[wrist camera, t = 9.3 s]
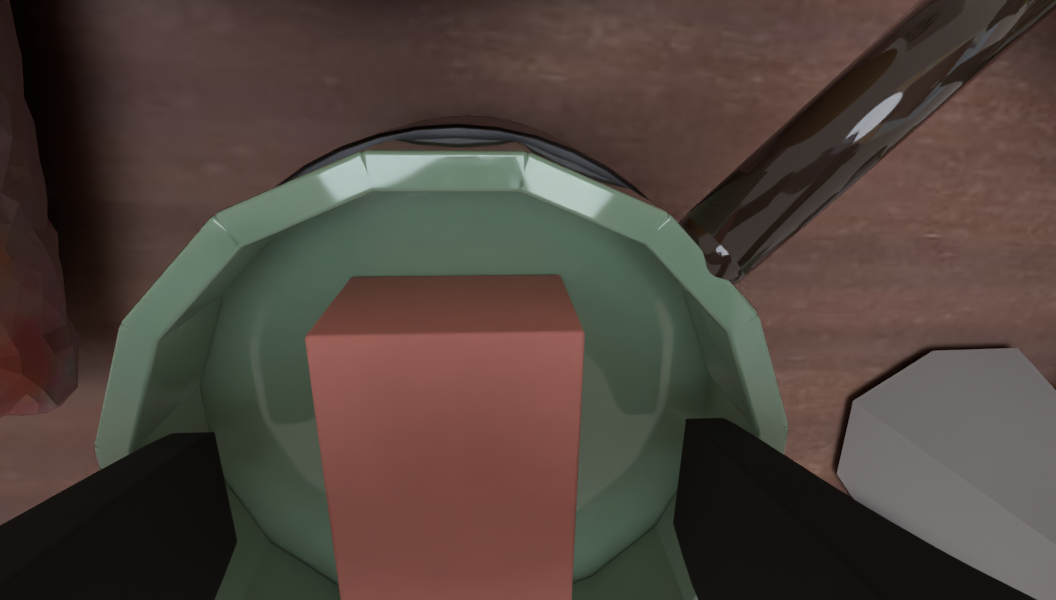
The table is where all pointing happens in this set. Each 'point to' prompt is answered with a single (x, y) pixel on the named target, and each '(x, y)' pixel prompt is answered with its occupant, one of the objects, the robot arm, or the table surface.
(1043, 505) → the flask
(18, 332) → the food
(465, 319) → the salmon pink cuboid
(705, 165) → the table surface
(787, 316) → the table surface
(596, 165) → the black cylindrical stand
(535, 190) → the pan
